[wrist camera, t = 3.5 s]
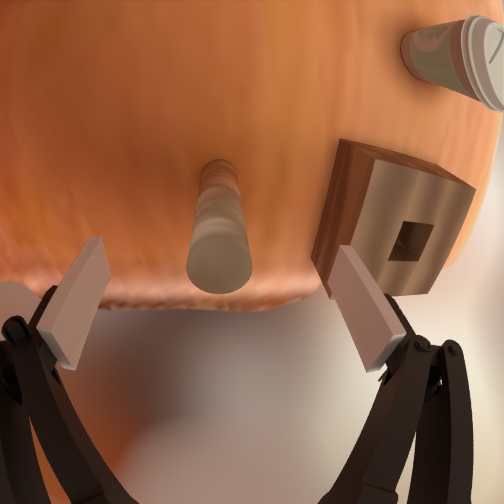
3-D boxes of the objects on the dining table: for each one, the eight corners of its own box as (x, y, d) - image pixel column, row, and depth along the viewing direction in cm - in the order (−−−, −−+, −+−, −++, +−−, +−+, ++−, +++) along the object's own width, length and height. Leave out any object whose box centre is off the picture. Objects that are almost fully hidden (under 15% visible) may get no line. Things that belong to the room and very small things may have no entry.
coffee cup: (434, 20, 15) (516, 21, 5) (453, 87, 20) (533, 112, 10) (378, 22, 16) (465, 9, 6) (403, 98, 21) (491, 124, 11)
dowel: (201, 190, 25) (187, 293, 14) (203, 158, 23) (185, 241, 12) (235, 192, 26) (248, 294, 14) (238, 160, 24) (255, 243, 12)
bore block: (311, 257, 31) (329, 299, 26) (339, 138, 23) (375, 159, 18) (402, 259, 33) (427, 293, 28) (437, 165, 25) (476, 189, 20)
